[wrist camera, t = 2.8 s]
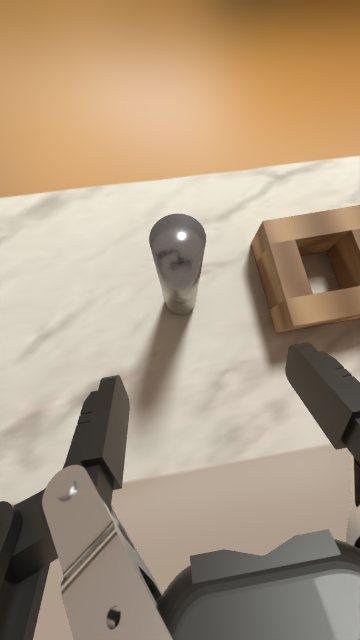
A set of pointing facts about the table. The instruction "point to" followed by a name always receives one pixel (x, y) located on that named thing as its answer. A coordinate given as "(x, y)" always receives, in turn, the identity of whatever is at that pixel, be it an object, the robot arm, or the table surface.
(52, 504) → the robot arm
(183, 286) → the steel rod
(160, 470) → the table surface
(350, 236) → the wooden frame
